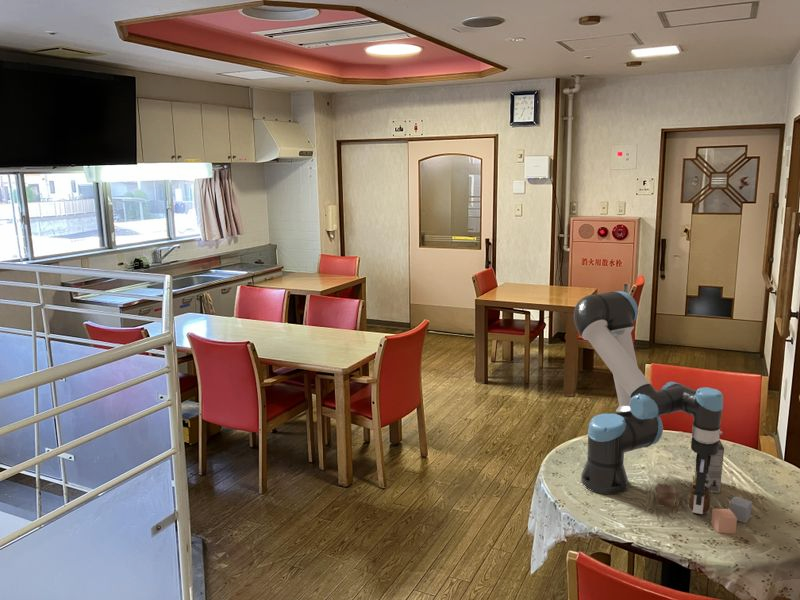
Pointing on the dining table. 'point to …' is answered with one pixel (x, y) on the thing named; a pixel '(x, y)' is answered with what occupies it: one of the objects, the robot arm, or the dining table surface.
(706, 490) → the utensil holder
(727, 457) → the dining table surface
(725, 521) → the terracotta block
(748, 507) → the slate block
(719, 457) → the coffee box
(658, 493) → the walnut block
